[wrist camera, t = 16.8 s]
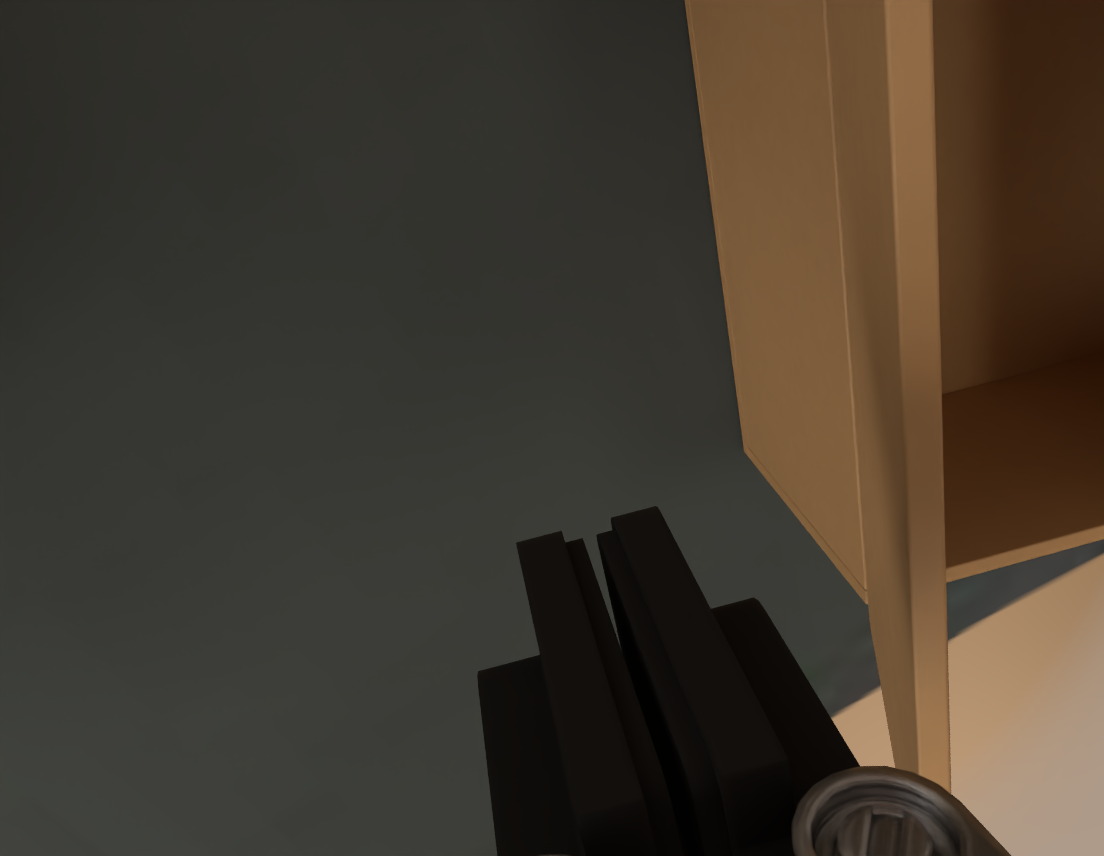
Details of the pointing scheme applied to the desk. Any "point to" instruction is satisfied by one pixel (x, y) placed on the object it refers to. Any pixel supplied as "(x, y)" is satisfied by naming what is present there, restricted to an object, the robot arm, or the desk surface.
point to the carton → (964, 267)
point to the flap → (896, 355)
